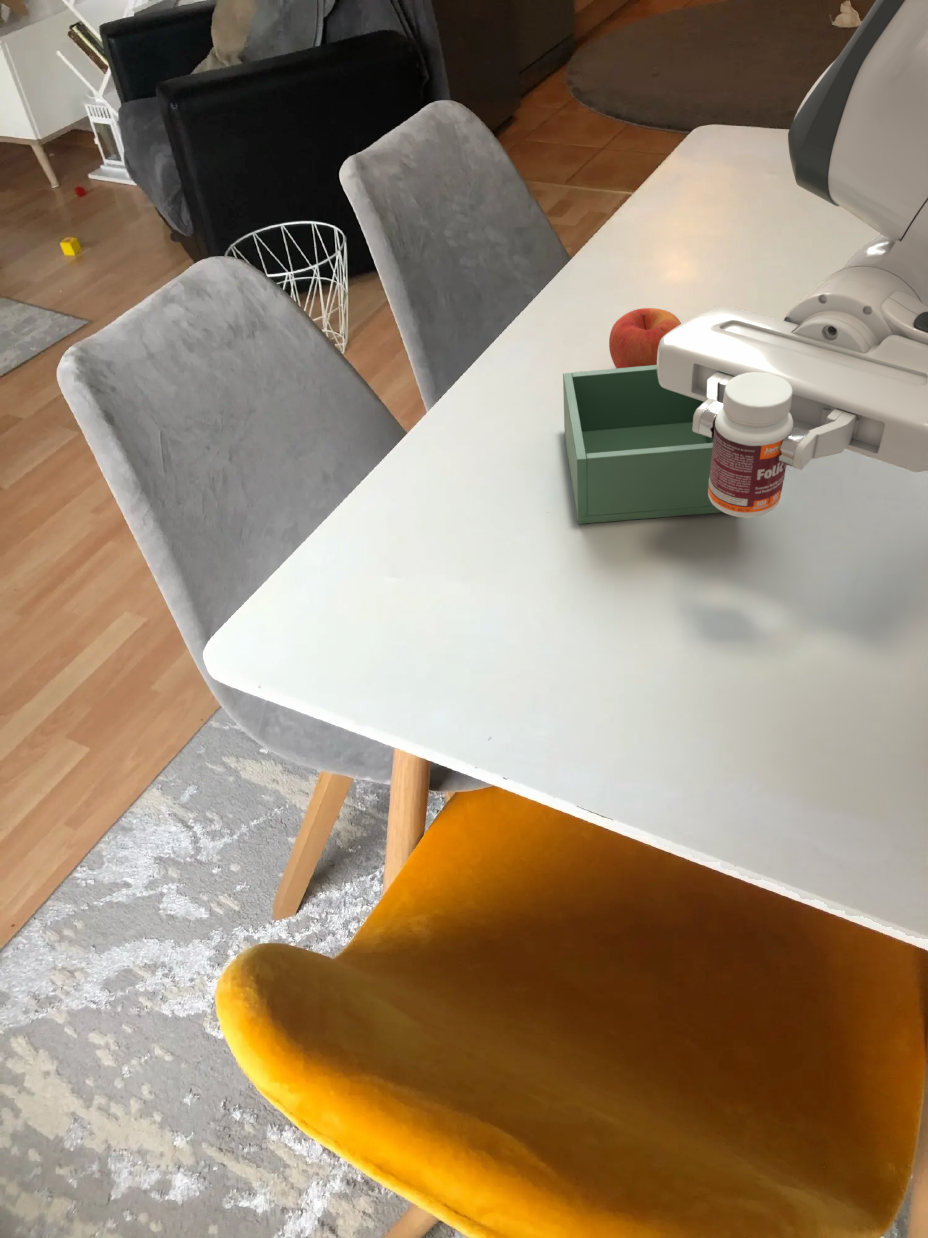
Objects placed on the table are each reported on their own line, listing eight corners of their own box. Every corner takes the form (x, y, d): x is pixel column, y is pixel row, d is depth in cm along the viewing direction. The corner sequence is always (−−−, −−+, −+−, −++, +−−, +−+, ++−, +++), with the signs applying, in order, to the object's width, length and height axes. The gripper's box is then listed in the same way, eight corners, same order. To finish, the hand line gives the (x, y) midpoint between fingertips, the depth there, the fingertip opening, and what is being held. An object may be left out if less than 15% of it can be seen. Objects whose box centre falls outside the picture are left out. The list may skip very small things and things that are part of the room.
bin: (706, 423, 92) (712, 359, 87) (736, 511, 82) (745, 445, 77) (564, 435, 93) (562, 373, 88) (578, 524, 83) (577, 459, 78)
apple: (685, 362, 100) (690, 289, 94) (676, 400, 95) (681, 326, 89) (615, 358, 102) (616, 287, 96) (603, 396, 97) (603, 323, 91)
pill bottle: (761, 528, 62) (779, 418, 56) (694, 505, 64) (704, 397, 58) (792, 489, 65) (812, 379, 59) (727, 467, 67) (740, 360, 61)
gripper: (718, 268, 70) (609, 352, 64) (1009, 341, 60) (916, 451, 53) (710, 345, 75) (608, 432, 68) (980, 426, 64) (891, 538, 58)
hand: (745, 441), depth 60 cm, fingers closed on pill bottle, 5 cm apart
